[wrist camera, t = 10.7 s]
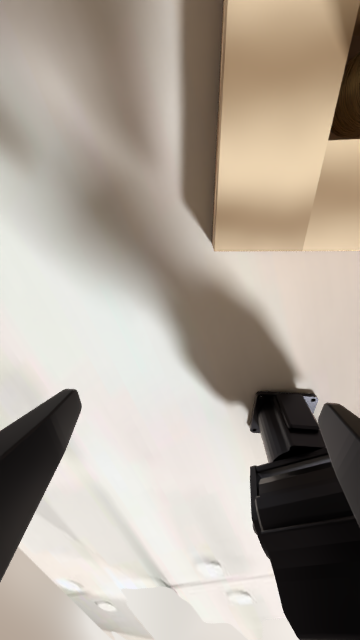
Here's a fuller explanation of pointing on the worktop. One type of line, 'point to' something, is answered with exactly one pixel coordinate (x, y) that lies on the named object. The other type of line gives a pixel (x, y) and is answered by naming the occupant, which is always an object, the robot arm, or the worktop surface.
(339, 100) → the pin
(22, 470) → the robot arm
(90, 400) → the worktop surface
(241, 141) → the bore block
